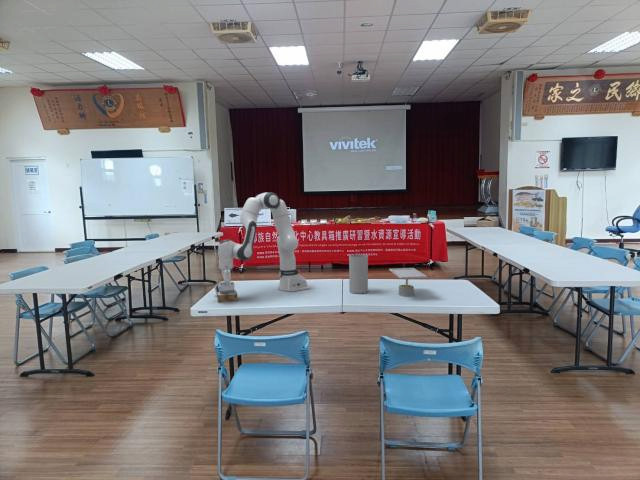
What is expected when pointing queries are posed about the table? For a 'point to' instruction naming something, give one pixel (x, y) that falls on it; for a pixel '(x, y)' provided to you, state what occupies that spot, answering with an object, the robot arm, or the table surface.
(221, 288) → the block
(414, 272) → the solar panel model
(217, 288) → the hinge
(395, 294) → the table surface
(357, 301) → the table surface
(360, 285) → the cylinder vase
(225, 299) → the stand
